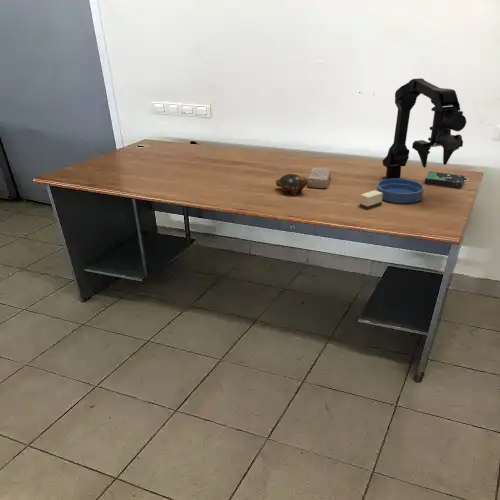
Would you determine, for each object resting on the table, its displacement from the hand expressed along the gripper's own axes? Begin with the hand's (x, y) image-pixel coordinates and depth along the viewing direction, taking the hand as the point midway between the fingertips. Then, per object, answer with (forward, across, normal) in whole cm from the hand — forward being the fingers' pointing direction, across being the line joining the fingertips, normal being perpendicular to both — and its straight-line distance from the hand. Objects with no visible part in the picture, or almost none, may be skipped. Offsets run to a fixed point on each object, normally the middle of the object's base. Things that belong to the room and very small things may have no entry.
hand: (434, 165), depth 193 cm
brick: (+15, -31, +36) cm, 50 cm away
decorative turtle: (+15, -47, +29) cm, 57 cm away
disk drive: (+15, +19, +16) cm, 29 cm away
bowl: (+14, -8, +9) cm, 19 cm away
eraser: (+14, -24, +4) cm, 28 cm away
